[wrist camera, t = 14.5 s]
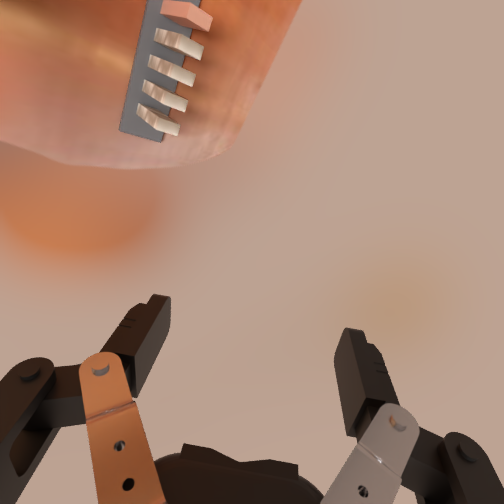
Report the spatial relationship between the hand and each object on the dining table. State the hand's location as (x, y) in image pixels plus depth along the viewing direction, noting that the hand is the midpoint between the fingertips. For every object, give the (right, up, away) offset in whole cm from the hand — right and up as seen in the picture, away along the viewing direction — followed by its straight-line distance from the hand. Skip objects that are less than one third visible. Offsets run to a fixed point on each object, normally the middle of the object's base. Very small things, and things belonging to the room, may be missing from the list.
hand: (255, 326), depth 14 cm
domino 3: (-22, +40, +55) cm, 71 cm away
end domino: (-17, +53, +49) cm, 74 cm away
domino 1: (-18, +48, +51) cm, 73 cm away
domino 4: (-24, +36, +57) cm, 71 cm away
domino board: (-21, +45, +53) cm, 73 cm away
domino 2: (-20, +44, +53) cm, 72 cm away
